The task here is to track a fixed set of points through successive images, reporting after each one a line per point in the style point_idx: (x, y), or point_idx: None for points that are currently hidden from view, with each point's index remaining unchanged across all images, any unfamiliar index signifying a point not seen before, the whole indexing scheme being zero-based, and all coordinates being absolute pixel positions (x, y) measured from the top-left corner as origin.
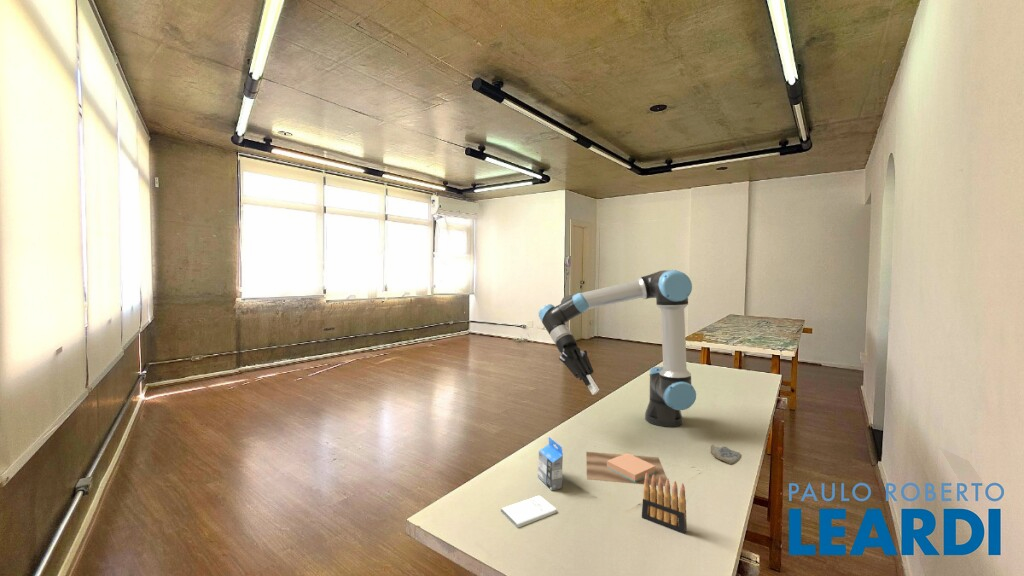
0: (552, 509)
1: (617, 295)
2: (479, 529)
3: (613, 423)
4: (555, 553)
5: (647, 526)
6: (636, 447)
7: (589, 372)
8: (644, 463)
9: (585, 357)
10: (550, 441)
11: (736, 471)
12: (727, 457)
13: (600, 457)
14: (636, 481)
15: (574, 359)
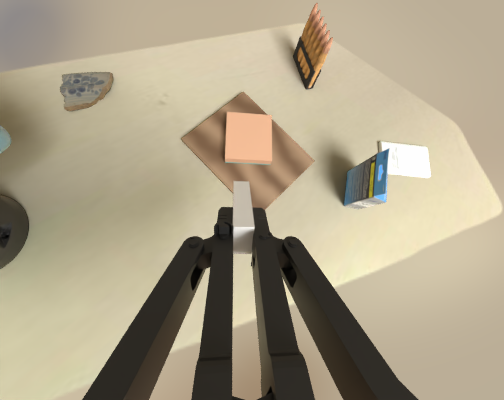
0: (385, 142)
1: None
2: (454, 167)
3: (92, 291)
4: (409, 106)
5: (318, 79)
6: (167, 186)
7: (232, 229)
8: (233, 124)
9: (136, 374)
10: (380, 188)
11: (128, 64)
12: (97, 78)
13: (253, 190)
14: None
15: (300, 361)
